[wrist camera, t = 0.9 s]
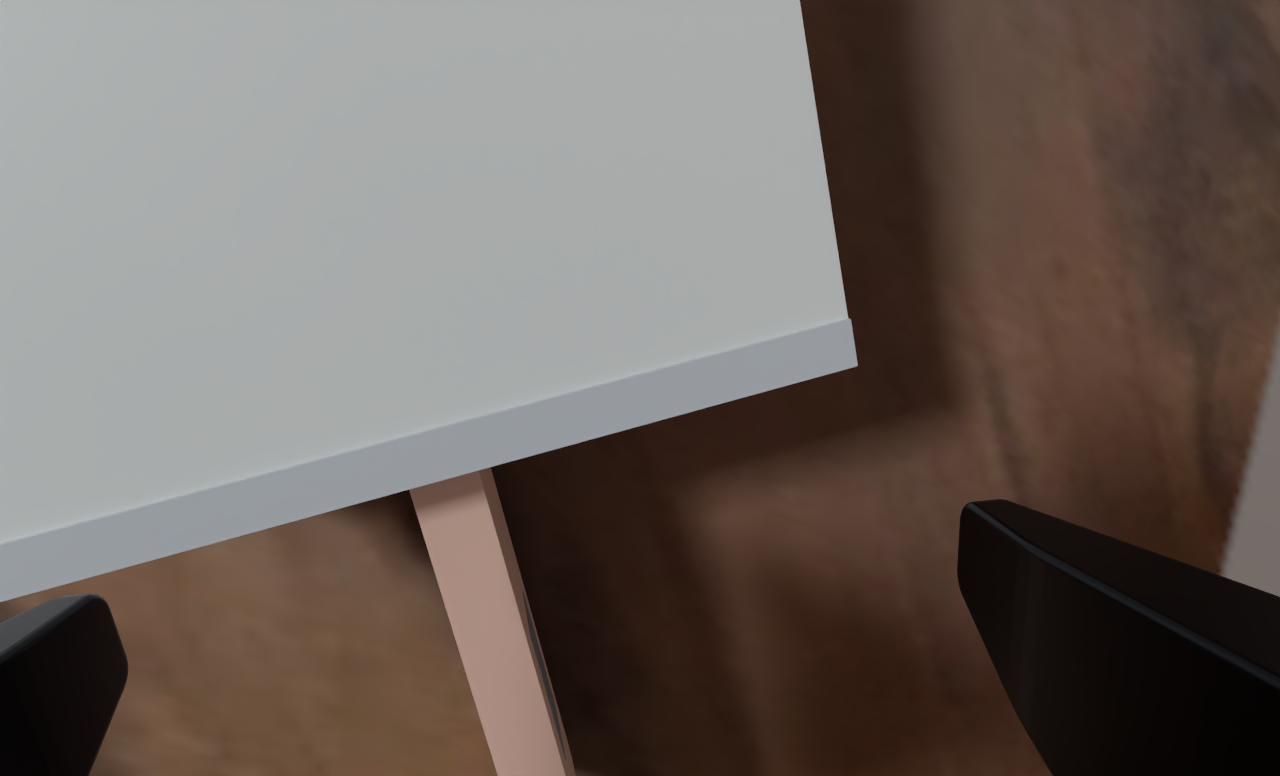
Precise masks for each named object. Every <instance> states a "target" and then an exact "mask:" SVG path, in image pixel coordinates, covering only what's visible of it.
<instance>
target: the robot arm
mask: <svg viewBox="0 0 1280 776" xmlns="http://www.w3.org/2000/svg"><path fill="white" fill-rule="evenodd" d="M957 575H958V582H959V587H960V590H961V593H962V596H963V598H964V600H965V602H966V605H967V607H968V609H969V611H970V613H971V616H972V618H973V620H974V622H975V624H976V627H977V629H978V631H979V633H980V636H981V638H982V640H983V642H984V644H985V647H986V649H987V651H988V653H989V655H990V658H991V660H992V662H993V664H994V667H995V669H996V671H997V673H998V675H999V678H1000V680H1001V682H1002V684H1003V686H1004V689H1005V691H1006V693H1007V695H1008V697H1009V699H1010V701H1011V703H1012V705H1013V707H1014V710H1015V712H1016V714H1017V715H1018V717H1019V719H1020V721H1021V723H1022V724H1023V726H1024V728H1025V730H1026V731H1027V733H1028V735H1029V737H1030V738H1031V740H1032V742H1033V743H1034V745H1035V747H1036V748H1037V750H1038V752H1039V753H1040V755H1041V757H1042V758H1043V760H1044V762H1045V764H1046V765H1047V767H1048V769H1049V770H1050V772H1051V774H1052V775H1053V776H1280V597H1279V596H1276V595H1273V594H1270V593H1267V592H1264V591H1262V590H1259V589H1256V588H1253V587H1250V586H1247V585H1245V584H1242V583H1239V582H1236V581H1233V580H1231V579H1228V578H1225V577H1222V576H1219V575H1217V574H1214V573H1211V572H1208V571H1205V570H1202V569H1200V568H1197V567H1194V566H1191V565H1188V564H1185V563H1183V562H1180V561H1177V560H1174V559H1171V558H1168V557H1166V556H1163V555H1160V554H1157V553H1154V552H1152V551H1149V550H1146V549H1143V548H1140V547H1137V546H1135V545H1132V544H1129V543H1126V542H1123V541H1120V540H1118V539H1115V538H1112V537H1109V536H1106V535H1104V534H1101V533H1098V532H1095V531H1092V530H1089V529H1087V528H1084V527H1081V526H1078V525H1075V524H1072V523H1070V522H1067V521H1064V520H1061V519H1058V518H1055V517H1053V516H1050V515H1047V514H1044V513H1041V512H1039V511H1036V510H1033V509H1030V508H1027V507H1024V506H1022V505H1019V504H1016V503H1013V502H1010V501H1007V500H1004V499H996V500H986V501H977V502H971V503H967V504H966V505H965V506H964V508H963V509H962V513H961V516H960V529H959V547H958V565H957ZM127 676H128V662H127V657H126V654H125V651H124V648H123V645H122V642H121V639H120V637H119V634H118V631H117V628H116V625H115V622H114V619H113V616H112V614H111V611H110V608H109V606H108V604H107V602H106V601H105V600H104V598H103V597H101V596H99V595H97V594H80V595H70V596H61V597H56V598H53V599H51V600H48V601H46V602H44V603H42V604H40V605H38V606H36V607H34V608H32V609H30V610H28V611H26V612H23V613H21V614H19V615H17V616H15V617H13V618H11V619H9V620H7V621H5V622H3V623H0V776H89V774H90V771H91V769H92V767H93V764H94V762H95V759H96V757H97V754H98V752H99V749H100V747H101V744H102V742H103V739H104V737H105V734H106V732H107V729H108V727H109V724H110V722H111V719H112V717H113V714H114V712H115V710H116V707H117V705H118V702H119V700H120V697H121V695H122V692H123V690H124V687H125V684H126V681H127Z"/></svg>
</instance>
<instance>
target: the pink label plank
mask: <svg viewBox="0 0 1280 776" xmlns="http://www.w3.org/2000/svg"><path fill="white" fill-rule="evenodd" d="M409 491H410V494H411V498H412V501H413V504H414V507H415V510H416V514H417V517H418V520H419V523H420V527H421V530H422V533H423V536H424V539H425V543H426V546H427V549H428V552H429V556H430V559H431V562H432V565H433V568H434V572H435V575H436V578H437V581H438V585H439V588H440V591H441V594H442V597H443V601H444V604H445V607H446V610H447V613H448V617H449V620H450V623H451V626H452V630H453V633H454V636H455V639H456V642H457V646H458V649H459V652H460V655H461V659H462V662H463V665H464V668H465V671H466V675H467V678H468V681H469V684H470V688H471V691H472V694H473V697H474V700H475V704H476V707H477V710H478V713H479V716H480V720H481V723H482V726H483V729H484V733H485V736H486V739H487V742H488V745H489V749H490V752H491V755H492V758H493V762H494V765H495V768H496V771H497V774H498V776H576V775H575V770H574V765H573V761H572V756H571V752H570V748H569V745H568V741H567V738H566V734H565V730H564V727H563V723H562V720H561V716H560V713H559V709H558V705H557V702H556V698H555V695H554V691H553V688H552V684H551V681H550V677H549V673H548V670H547V666H546V663H545V659H544V656H543V652H542V648H541V645H540V641H539V638H538V634H537V631H536V627H535V624H534V620H533V616H532V613H531V609H530V606H529V602H528V599H527V595H526V592H525V588H524V584H523V581H522V577H521V574H520V570H519V567H518V563H517V559H516V556H515V552H514V549H513V545H512V542H511V538H510V535H509V531H508V527H507V524H506V520H505V517H504V513H503V510H502V506H501V502H500V499H499V495H498V492H497V488H496V485H495V481H494V478H493V474H492V470H491V467H489V468H486V469H482V470H478V471H475V472H471V473H467V474H464V475H460V476H457V477H453V478H449V479H446V480H442V481H438V482H435V483H431V484H427V485H424V486H420V487H417V488H413V489H409Z"/></svg>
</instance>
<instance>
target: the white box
mask: <svg viewBox="0 0 1280 776" xmlns="http://www.w3.org/2000/svg"><path fill="white" fill-rule="evenodd" d="M857 366H858V363H857V356H856V350H855V343H854V336H853V330H852V323H851V319H849V318H848V314H847V307H846V301H845V294H844V288H843V281H842V274H841V268H840V261H839V255H838V248H837V242H836V235H835V229H834V222H833V215H832V209H831V202H830V196H829V189H828V183H827V176H826V169H825V163H824V156H823V150H822V143H821V137H820V130H819V123H818V117H817V110H816V104H815V97H814V91H813V84H812V77H811V71H810V64H809V58H808V51H807V45H806V38H805V32H804V25H803V18H802V12H801V5H800V0H0V602H2V601H6V600H9V599H13V598H17V597H20V596H24V595H27V594H31V593H35V592H38V591H42V590H46V589H49V588H53V587H57V586H60V585H64V584H67V583H71V582H75V581H78V580H82V579H86V578H89V577H93V576H97V575H100V574H104V573H107V572H111V571H115V570H118V569H122V568H126V567H129V566H133V565H137V564H140V563H144V562H147V561H151V560H155V559H158V558H162V557H166V556H169V555H173V554H177V553H180V552H184V551H187V550H191V549H195V548H198V547H202V546H206V545H209V544H213V543H217V542H220V541H224V540H227V539H231V538H235V537H238V536H242V535H246V534H249V533H253V532H257V531H260V530H264V529H267V528H271V527H275V526H278V525H282V524H286V523H289V522H293V521H297V520H300V519H304V518H307V517H311V516H315V515H318V514H322V513H326V512H329V511H333V510H337V509H340V508H344V507H347V506H351V505H355V504H358V503H362V502H366V501H369V500H373V499H377V498H380V497H384V496H387V495H391V494H395V493H398V492H402V491H406V490H409V489H413V488H417V487H420V486H424V485H427V484H431V483H435V482H438V481H442V480H446V479H449V478H453V477H457V476H460V475H464V474H467V473H471V472H475V471H478V470H482V469H486V468H489V467H493V466H497V465H500V464H504V463H507V462H511V461H515V460H518V459H522V458H526V457H529V456H533V455H537V454H540V453H544V452H547V451H551V450H555V449H558V448H562V447H566V446H569V445H573V444H577V443H580V442H584V441H587V440H591V439H595V438H598V437H602V436H606V435H609V434H613V433H617V432H620V431H624V430H627V429H631V428H635V427H638V426H642V425H646V424H649V423H653V422H657V421H660V420H664V419H667V418H671V417H675V416H678V415H682V414H686V413H689V412H693V411H697V410H700V409H704V408H707V407H711V406H715V405H718V404H722V403H726V402H729V401H733V400H737V399H740V398H744V397H747V396H751V395H755V394H758V393H762V392H766V391H769V390H773V389H777V388H780V387H784V386H787V385H791V384H795V383H798V382H802V381H806V380H809V379H813V378H817V377H820V376H824V375H827V374H831V373H835V372H838V371H842V370H846V369H849V368H853V367H857Z"/></svg>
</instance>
